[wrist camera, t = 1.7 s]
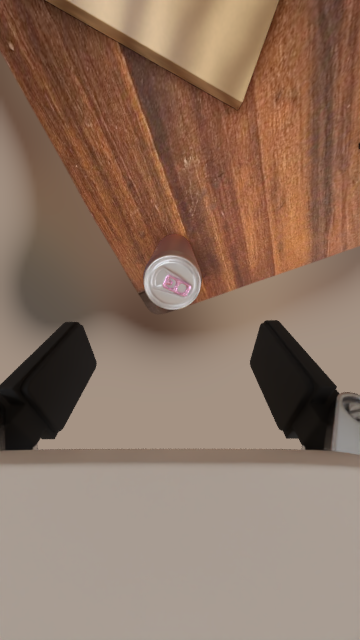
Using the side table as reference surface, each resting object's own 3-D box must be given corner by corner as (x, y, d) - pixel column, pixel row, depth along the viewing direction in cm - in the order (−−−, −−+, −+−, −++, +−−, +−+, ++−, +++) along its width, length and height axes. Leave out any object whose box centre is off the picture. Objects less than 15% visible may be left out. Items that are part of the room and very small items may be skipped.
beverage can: (182, 275, 32) (185, 319, 19) (151, 261, 30) (133, 298, 18) (198, 244, 29) (214, 270, 16) (165, 226, 27) (154, 240, 15)
